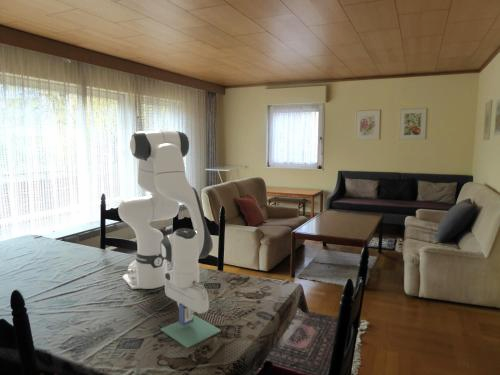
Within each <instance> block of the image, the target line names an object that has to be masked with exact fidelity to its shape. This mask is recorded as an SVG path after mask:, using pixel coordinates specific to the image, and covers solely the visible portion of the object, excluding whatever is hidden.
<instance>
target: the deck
mask: <svg viewBox="0 0 500 375" xmlns="http://www.w3.org/2000/svg"><path fill="white" fill-rule="evenodd" d="M188 312H189V310H188V308H187V307H186V306H184V305H182V304H179V307H178V321H179V324H180V325H182V326H185V325H188V324H190V323H192V322H193V318H192V319H190V320H189V319H188V318H187V316H186V314H187V313H188Z"/></svg>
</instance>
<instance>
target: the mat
mask: <svg viewBox="0 0 500 375" xmlns="http://www.w3.org/2000/svg"><path fill="white" fill-rule="evenodd" d="M159 330H160V331H161V332H163V333H164V334H166V335H167V336H168V337H170V338H172V339H173V340H175V341H176V342H178V343H179V344H180V345H181V346H183V347H185V348H186V349H189V348H191V347H193V346H195V345H197V344H198V343H201V342H203V341H205V340H206V339H209V338H211V337H213V336H215V335H217V334H219V333H220V332H222V330H221V329H220V328H218V327H217V326H215V325H213V324H211V323H210V322H208V321H206V320H204V319H202V318H200V317H198V316H197V315H195V314H193V322H192V323H190V324H188V325H185V326H182V325H180V324H179V320H178V321H176V322H174V323H171V324H169V325H166V326H164V327H162V328H160V329H159Z"/></svg>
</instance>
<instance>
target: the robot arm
mask: <svg viewBox="0 0 500 375" xmlns="http://www.w3.org/2000/svg"><path fill="white" fill-rule="evenodd" d="M129 142H130V143H129V149H130V151H131V154H132V156H133V157H134V158H136V159H138V173H137V183H138V184H137V185H138V186H139V187H140V188H141V189H143V190H144V191H146V192H149V193H150V194H149V195H147V196H146V195H145V196H133V197H129V198H125V199H122V200H121V201H120V203H119V205H118V209H117V212H118V216H119V218H120V219H121V221H122V222H124V223H126V224H127V225H128V226H129V227H130V228H131V229H132V230H133V232H134V234H135V237H136V244H137V251H135V252H134V254H135V260H134V261H132V262H131V263H130V264H129V265H128V267H127V268H128V269H126V270H127V271H126V272H127V273H125V274H123V275H122V279H123V281H124V282H125V283H126V284H127V285H128V286H129V287H130V289H132V290H136V289H144V290H145V289H147V290H149V289H157V288H160V287H163V286H164V293H165V295H166V297H167V298H170V299H171V300H173V301H175V302H176V305H177V307H178V308H179V304H182V305H184V306H186V307H187V308H188V310H189V312H188V313H187V314H186V316H187V318H188V319H189V320H190V319H192V318H193V315H194V313H197V314H198V315H202V314H205V313H207V312H208V311H209V309H210V303H209V294H208V291H207V289H206V288H205V286H204V285H203V284H202V283H200V265H199V259H206V258H207V257H208V256H209V255H210V254H211V252H212V250H213V248H214V244H213V239H212V236H211V233H210V231H209V228H208V226H207V221H206V219H205V214H204V210H203V207H202V203H201V200H200V196H199V194H198V192H197V190H196V188H195V187H193V186H191V184H190V183H189V181H188V179H187V175H186V166H185V161H184V158H185V157H186V156H187V155H188V153H189V151H190V140H189V137H188V135H187V134H186V133H185V132H181V131H178V130H177V131H174V130H173V131H172V130H162V129H161V130H148V131H144V130H139V131H135V132H133V134H132V135H131V139H130V141H129ZM180 204H182V205H184V206H185V207H186V208H187V210H188V212H189V216H190V219H191V223H192V227H193V228H188V227H182V228H178V229H176V230H174V231H173V233H170V234H167V235H165V236H164V234H163V232H161V230H159V229H157V228H154V227H152V226H151V225H150V222H157V221H166V220H169V219H170V220H171V219H173V218H175V217H177V215H178V214H179V211H180ZM167 262H168V263H172V265H173V266H172V269H171V270H168V263H167Z"/></svg>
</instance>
